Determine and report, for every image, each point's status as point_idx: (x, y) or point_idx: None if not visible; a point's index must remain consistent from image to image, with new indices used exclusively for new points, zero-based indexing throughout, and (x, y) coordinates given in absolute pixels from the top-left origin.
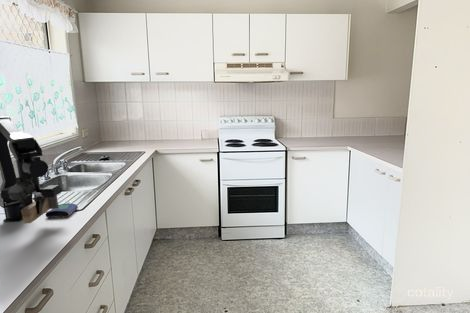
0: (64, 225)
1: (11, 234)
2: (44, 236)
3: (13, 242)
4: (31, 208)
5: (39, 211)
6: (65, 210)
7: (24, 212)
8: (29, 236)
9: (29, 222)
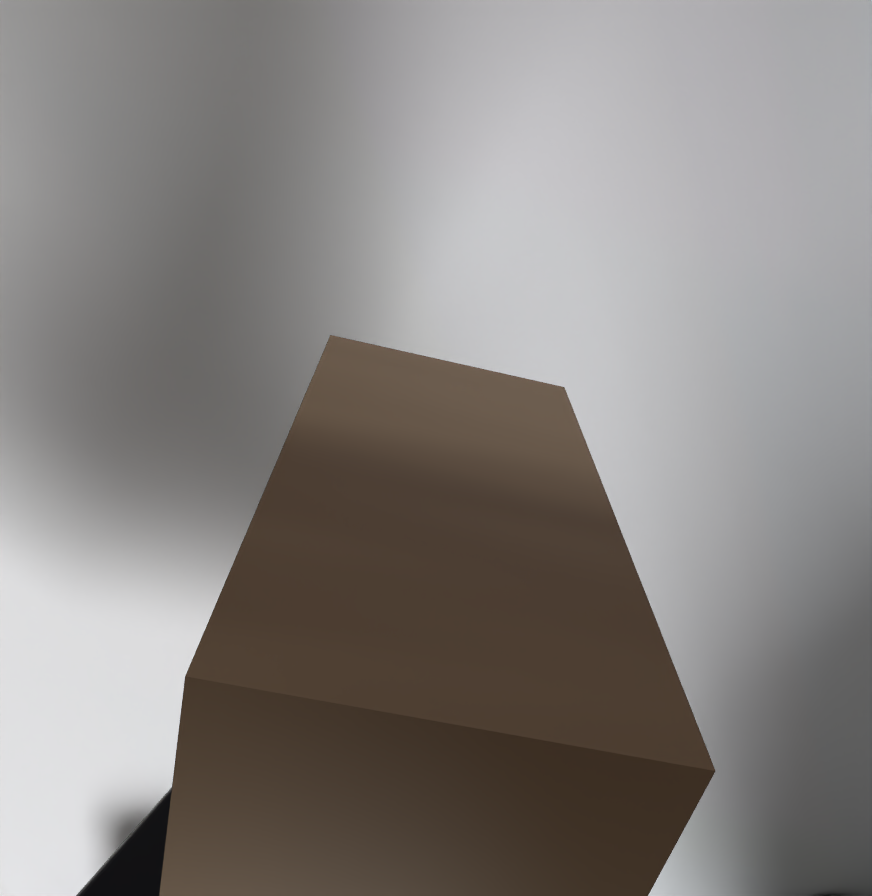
0: (44, 617)
1: (843, 511)
2: (187, 251)
3: (734, 126)
4: (169, 870)
5: (154, 814)
6: None
7: (487, 606)
8: (493, 336)
9: (368, 349)
